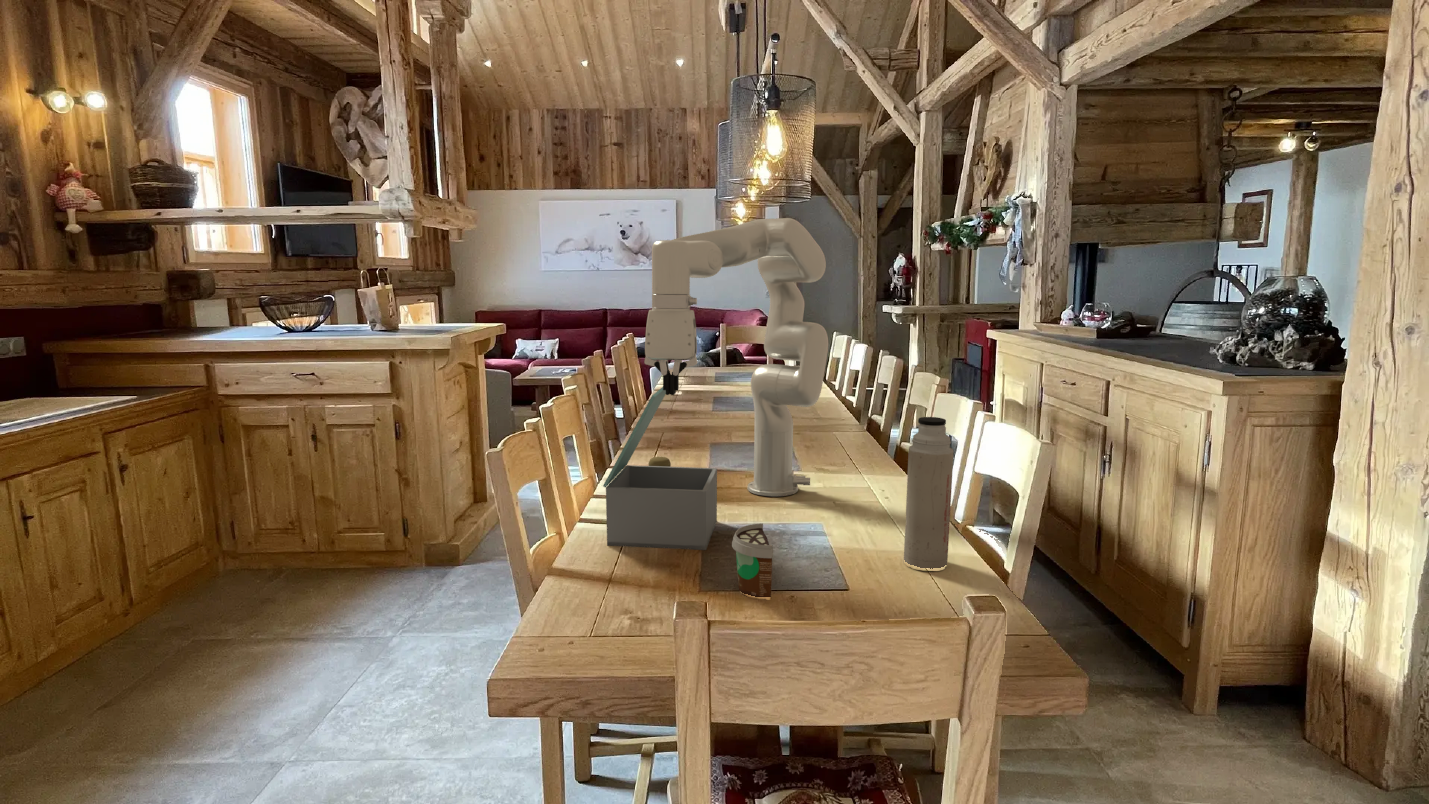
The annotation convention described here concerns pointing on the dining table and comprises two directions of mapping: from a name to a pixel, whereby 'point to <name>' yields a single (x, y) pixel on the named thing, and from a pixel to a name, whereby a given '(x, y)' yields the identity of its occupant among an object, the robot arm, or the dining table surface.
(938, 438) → the thermos bottle
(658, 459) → the cork
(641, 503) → the carton
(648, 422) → the lid
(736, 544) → the food container
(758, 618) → the dining table surface
